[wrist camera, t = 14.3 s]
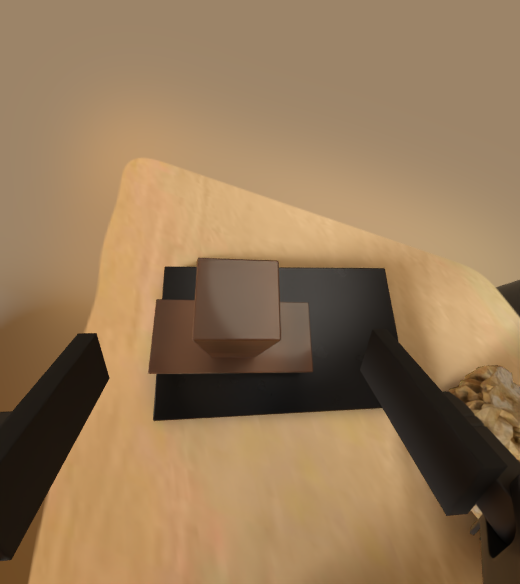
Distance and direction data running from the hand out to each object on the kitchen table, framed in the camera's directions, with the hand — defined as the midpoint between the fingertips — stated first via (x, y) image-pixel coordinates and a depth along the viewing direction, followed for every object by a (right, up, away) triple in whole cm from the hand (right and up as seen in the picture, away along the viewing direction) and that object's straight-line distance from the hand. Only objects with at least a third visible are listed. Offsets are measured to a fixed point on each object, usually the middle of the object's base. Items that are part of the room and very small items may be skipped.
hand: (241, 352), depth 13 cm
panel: (+3, -1, +10) cm, 11 cm away
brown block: (-1, -1, +8) cm, 8 cm away
